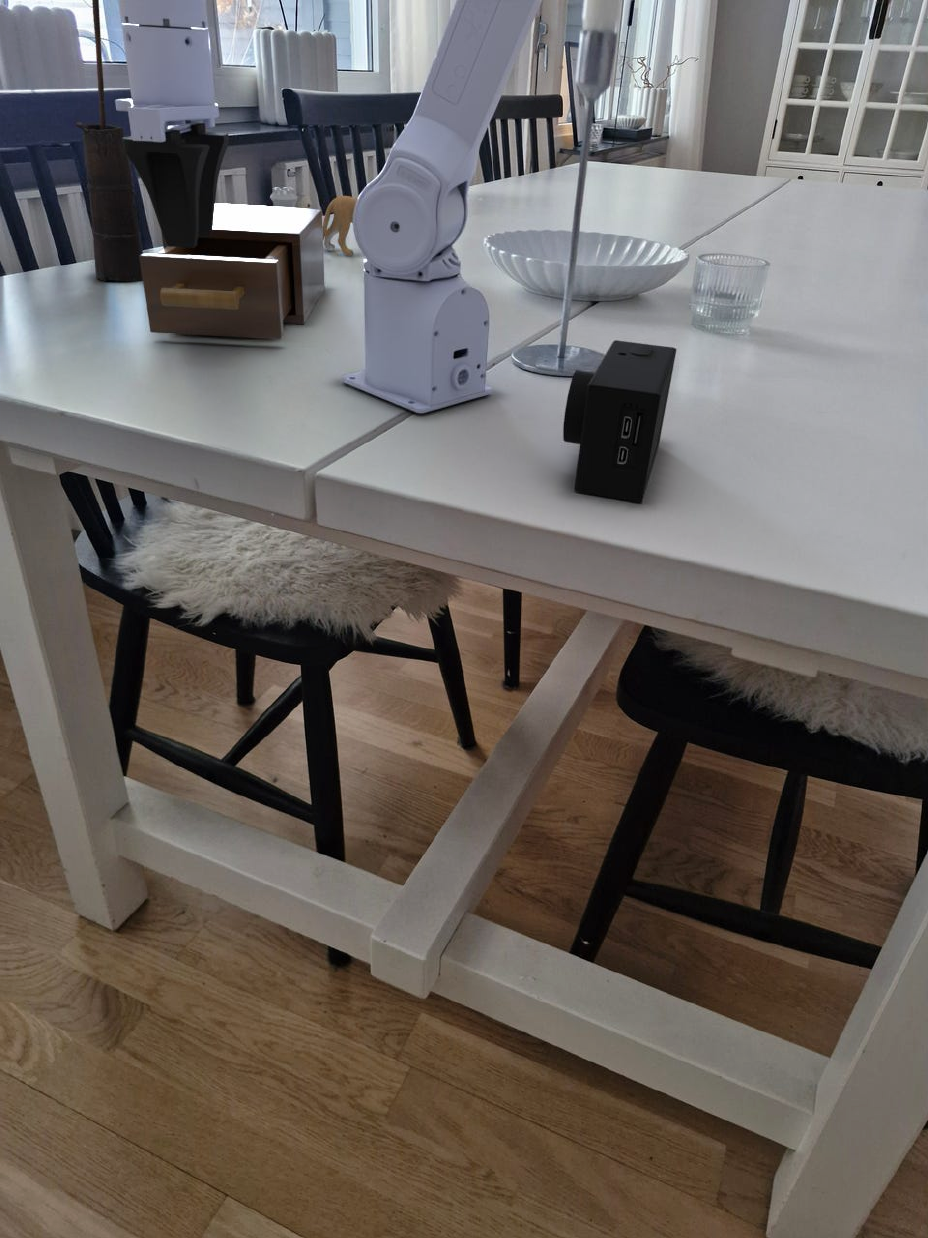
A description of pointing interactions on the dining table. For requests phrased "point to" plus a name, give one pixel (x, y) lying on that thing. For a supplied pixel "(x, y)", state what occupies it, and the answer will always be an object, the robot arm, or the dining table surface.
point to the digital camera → (619, 419)
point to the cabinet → (281, 227)
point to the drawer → (220, 288)
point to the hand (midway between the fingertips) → (190, 240)
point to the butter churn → (110, 191)
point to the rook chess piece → (283, 197)
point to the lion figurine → (339, 222)
